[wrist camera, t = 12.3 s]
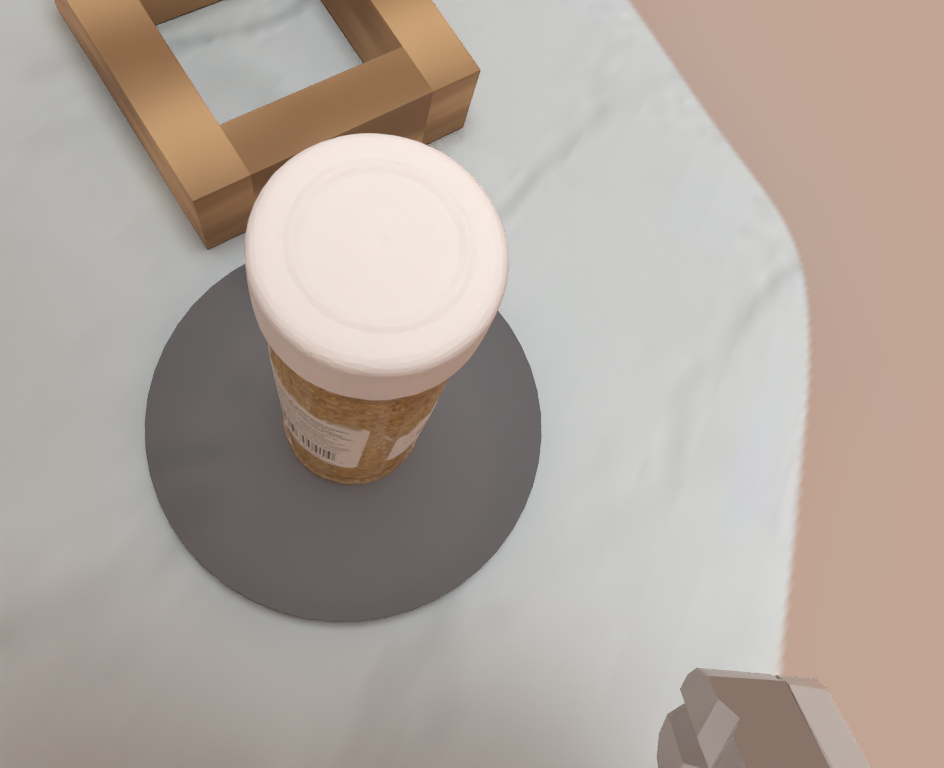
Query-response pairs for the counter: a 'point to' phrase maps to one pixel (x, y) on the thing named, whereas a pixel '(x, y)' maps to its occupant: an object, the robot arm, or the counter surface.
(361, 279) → the sprinkles bottle
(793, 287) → the counter surface
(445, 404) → the slate coaster
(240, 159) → the frame
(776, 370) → the counter surface
